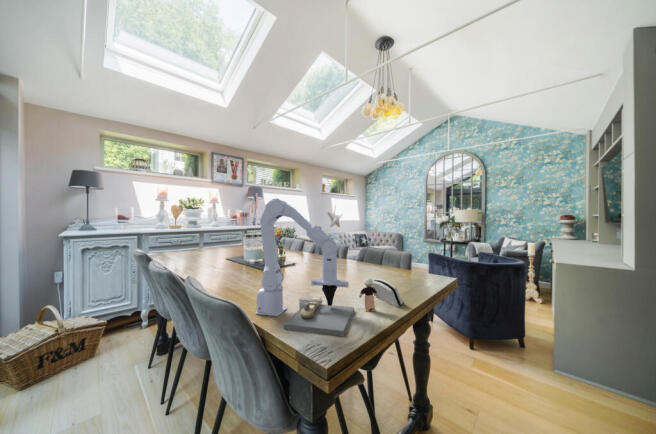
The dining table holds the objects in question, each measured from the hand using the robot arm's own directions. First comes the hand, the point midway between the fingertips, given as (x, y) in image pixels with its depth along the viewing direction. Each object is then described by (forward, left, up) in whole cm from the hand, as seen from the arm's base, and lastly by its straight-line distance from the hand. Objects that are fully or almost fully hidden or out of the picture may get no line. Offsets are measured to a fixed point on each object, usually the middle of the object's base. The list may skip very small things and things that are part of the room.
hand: (330, 304), depth 89 cm
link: (-6, -4, -1) cm, 8 cm away
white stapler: (+20, +18, -3) cm, 27 cm away
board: (-1, -7, -3) cm, 8 cm away
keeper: (-6, -4, -1) cm, 8 cm away
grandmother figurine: (+14, +5, -3) cm, 15 cm away
